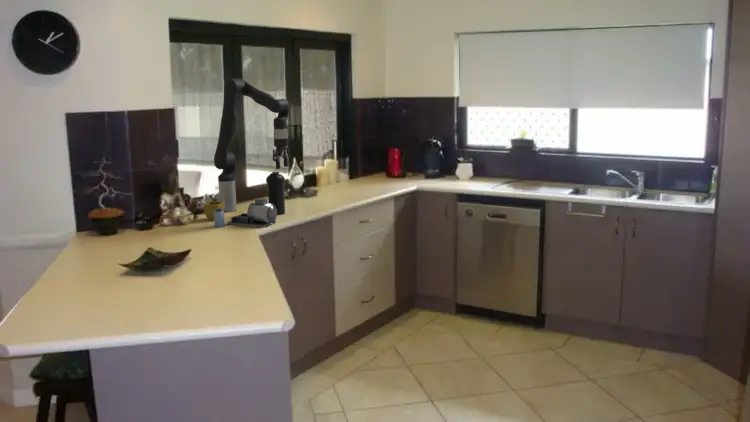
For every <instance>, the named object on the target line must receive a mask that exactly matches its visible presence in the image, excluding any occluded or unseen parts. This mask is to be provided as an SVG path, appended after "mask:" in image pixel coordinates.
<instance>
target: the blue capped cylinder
mask: <svg viewBox="0 0 750 422" xmlns="http://www.w3.org/2000/svg"><path fill="white" fill-rule="evenodd" d="M215 210H216V211H214V220H213V221H214V228H223V227H226V225H225V224H226V223H225V212H224V210H222V208H216V209H215Z"/></svg>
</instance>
